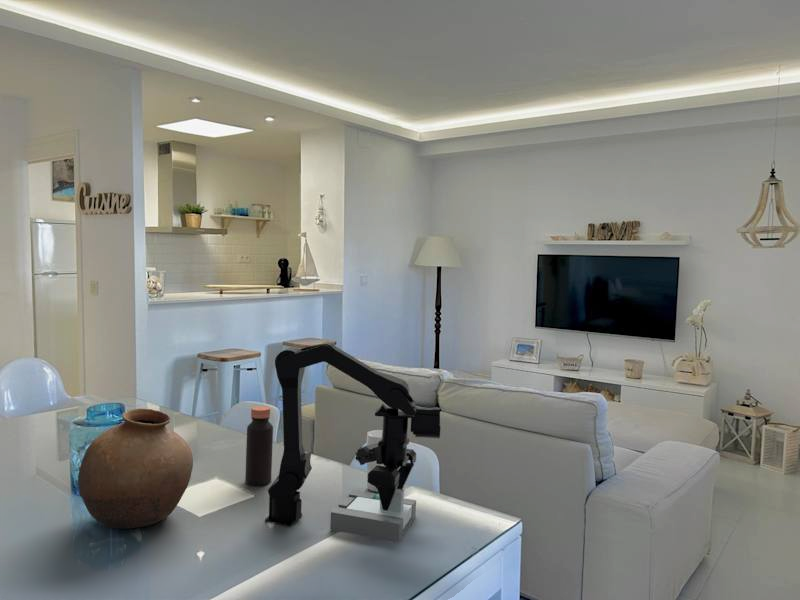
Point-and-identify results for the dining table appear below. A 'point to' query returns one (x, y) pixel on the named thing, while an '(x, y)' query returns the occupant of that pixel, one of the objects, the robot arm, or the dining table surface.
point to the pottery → (135, 471)
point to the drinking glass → (373, 438)
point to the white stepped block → (375, 507)
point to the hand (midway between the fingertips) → (391, 502)
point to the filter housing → (369, 519)
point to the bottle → (259, 447)
